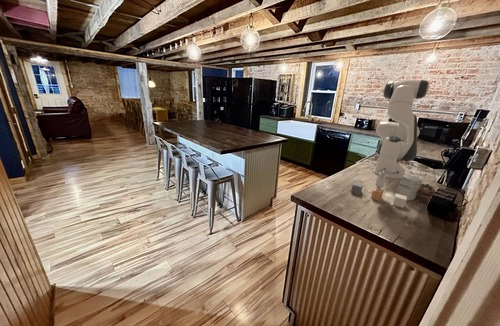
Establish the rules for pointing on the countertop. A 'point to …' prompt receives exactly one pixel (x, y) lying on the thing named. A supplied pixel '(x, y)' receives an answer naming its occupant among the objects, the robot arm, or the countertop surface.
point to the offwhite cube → (400, 200)
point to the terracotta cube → (377, 194)
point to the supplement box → (409, 186)
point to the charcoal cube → (356, 188)
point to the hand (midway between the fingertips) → (378, 188)
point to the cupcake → (425, 193)
